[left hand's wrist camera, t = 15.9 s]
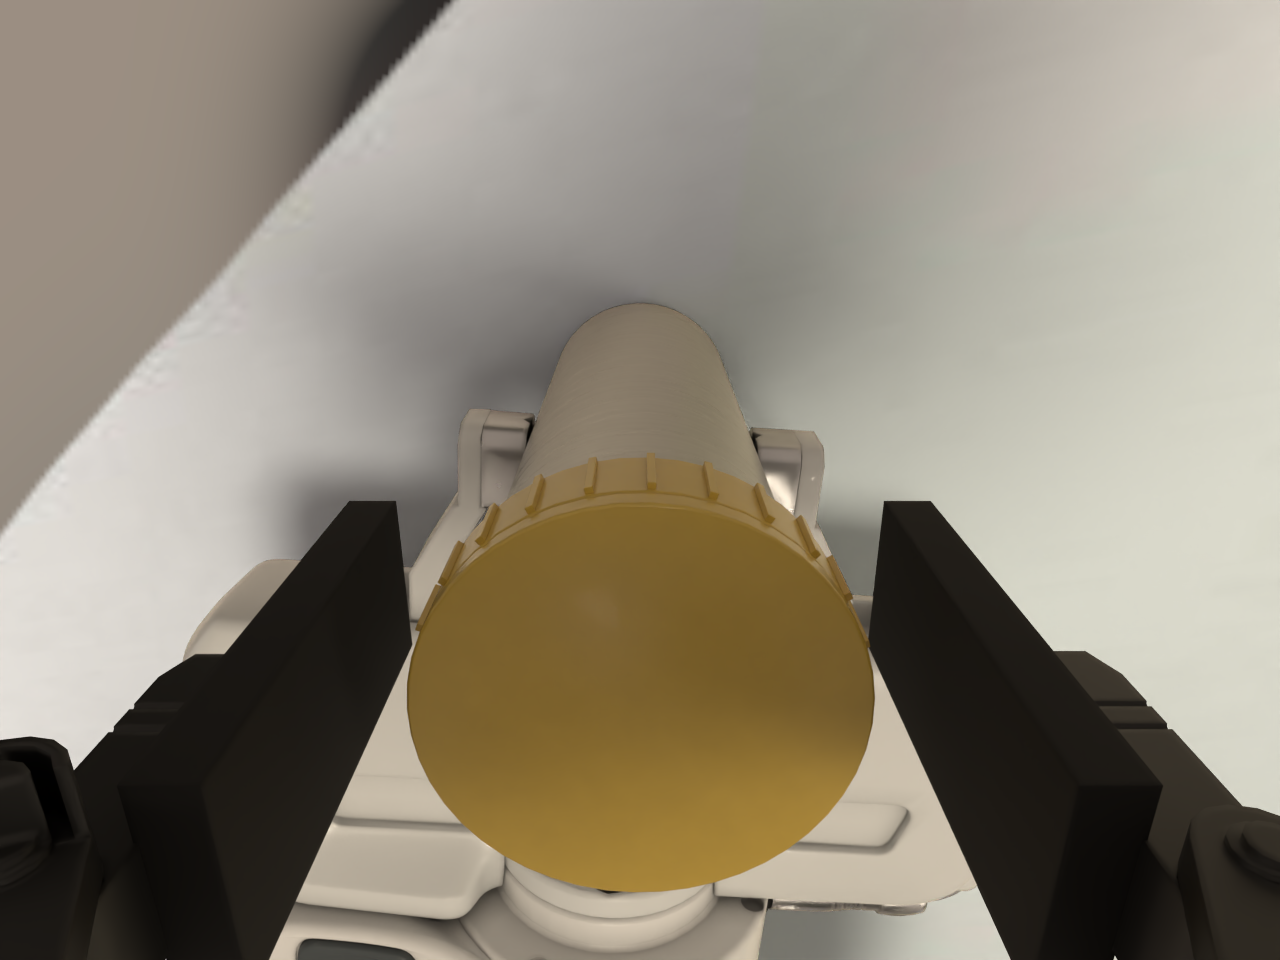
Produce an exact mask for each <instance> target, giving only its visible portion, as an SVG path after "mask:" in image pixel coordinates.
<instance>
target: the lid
mask: <svg viewBox="0 0 1280 960" xmlns="http://www.w3.org/2000/svg"><path fill="white" fill-rule="evenodd" d="M438 583H439V584H440V585H441V586H440V585H437V584H435V586H434V588H433V591H432V593H431V595H430V597H429V599H428V601H427V603H426V606H425V608H424V610H423V612H422V614H421V616H420V618H419V621H418V623H417V625H416V629H415V630H416V631H419V635H418V638H417V641H416V644H415V647H414V650H413V653H412V656H411V661H410V667H409V673H408V680H407V714H408V720H409V726H410V733H411V737H412V740H413V743H414V746H415V750H416V753H417V756H418V759H419V761H420V763H421V765H422V767H423V770H424V772H425V774H426V776H427V778H428V780H429V782H430V783H431V785H432V786H433V788H434V789H435V791H436V792H437V794H438V795H439V797H440V798H441V800H442V801H443V803H444V804H445V805H446V806H447V807H448V809H449V810H450V811H451V812H452V813H453V814H454V815H455V816H456V818H457V819H458V820H459V821H460V822H461V823H462V824H463V825H464V826H465V827H466V828H468V829H469V830H470V831H471V832H472V833H473V834H474V835H476V836H477V837H478V838H479V839H480V840H481V841H483V842H484V843H486V844H487V845H489V846H490V847H492V848H493V849H494V850H496V851H497V852H499V853H500V854H502V855H503V856H505V857H507V858H509V859H511V860H513V861H515V862H516V863H518V864H520V865H522V866H524V867H526V868H528V869H531V870H533V871H536V872H538V873H541V874H543V875H546V876H548V877H551V878H554V879H557V880H561V881H564V882H568V883H571V884H575V885H578V886H584V887H590V888H595V889H601V890H608V891H621V892H663V891H671V890H680V889H688V888H692V887H697V886H701V885H706V884H710V883H715V882H718V881H721V880H724V879H727V878H730V877H733V876H736V875H739V874H741V873H744V872H746V871H748V870H750V869H752V868H755V867H757V866H759V865H761V864H763V863H765V862H767V861H769V860H771V859H772V858H774V857H776V856H777V855H779V854H781V853H782V852H784V851H786V850H787V849H789V848H790V847H791V846H793V845H794V844H795V843H797V842H798V841H799V840H801V839H802V838H803V837H805V836H806V835H807V834H809V833H810V832H811V831H812V830H813V829H814V828H815V827H816V826H817V825H818V824H819V823H820V822H821V821H822V820H823V819H824V818H825V817H826V816H827V815H828V814H829V813H830V811H831V810H832V809H833V808H834V806H835V805H836V804H837V803H838V801H839V800H840V799H841V798H842V796H843V795H844V793H845V792H846V790H847V788H848V787H849V785H850V783H851V782H852V780H853V778H854V777H855V775H856V773H857V771H858V768H859V766H860V764H861V761H862V759H863V756H864V754H865V752H866V749H867V745H868V741H869V737H870V733H871V729H872V725H873V716H874V705H875V690H874V675H873V669H872V665H871V660H870V656H869V652H868V648H869V647H870V643H869V639H868V637H867V635H866V633H865V631H864V629H863V626H862V624H861V622H860V620H859V618H858V616H857V614H856V611H855V609H854V607H853V605H852V603H851V601H850V600H852V599H853V596H852V594H851V592H850V590H849V588H848V586H847V584H846V582H845V579H844V577H843V575H842V573H841V571H840V569H839V567H838V565H837V562H836V560H835V559H834V557H833V555H831V556H829V557H826V555H825V554H824V552H823V550H822V549H821V547H820V545H819V544H818V542H817V541H816V540H815V539H814V537H813V535H812V532H811V530H810V528H809V526H808V523H807V521H806V519H805V518H804V517H803V516H802V515H800V516H799V517H797V518H796V517H795V516H793V515H792V514H791V513H790V512H789V511H788V510H787V509H786V508H785V507H784V506H783V505H781V504H780V503H778V502H777V501H776V500H774V499H773V498H771V497H770V496H768V495H767V493H766V491H765V488H764V486H763V485H761V484H760V483H756V485H755V486H752V485H750V484H748V483H746V482H744V481H742V480H740V479H738V478H737V477H735V476H732V475H729V474H726V473H724V472H721V471H718V470H715V469H713V465H712V463H710V462H707V461H704V464H703V466H702V465H698V464H693V463H689V462H684V461H680V460H671V459H661V458H655V453H647V456H646V457H644V458H617V459H610V460H604V461H597V457H591V458H588V463H587V464H583V465H580V466H576V467H573V468H569V469H566V470H562V471H560V472H557V473H555V474H553V475H550V476H548V477H546V478H544V477H543V476H542V474H539V475H537V476H535V477H534V480H533V483H532V484H531V485H529V486H528V487H526V488H524V489H522V490H521V491H519V492H517V493H516V494H514V495H512V496H511V497H510V498H508V499H507V500H506V501H504V502H503V503H502V504H501V505H499V506H497V505H496V504H495V503H493V504H492V505H490V506H489V508H488V510H487V512H486V515H485V517H484V520H483V521H482V522H481V523H480V524H479V525H478V526H477V527H476V528H475V529H474V530H473V531H472V532H471V534H470V535H469V536H468V538H467V539H466V541H465V542H464V543H462V542H461V541H459V540H458V541H457V543H456V544H455V546H454V548H453V550H452V552H451V554H450V556H449V559H448V561H447V563H446V565H445V567H444V569H443V572H442V574H441V576H440V578H439V580H438Z"/></svg>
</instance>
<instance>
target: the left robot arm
mask: <svg viewBox="0 0 1280 960" xmlns="http://www.w3.org/2000/svg"><path fill="white" fill-rule="evenodd" d="M868 639H869V643H870V647H869V649H870V652H871V654H872V656H873V658H874V660H875V663H876V665H877V667H878V669H879V671H880V674H881V676H882V678H883V680H884V682H885V685H886V687H887V689H888V691H889V693H890V696H891V698H892V700H893V702H894V704H895V706H896V709H897V711H898V713H899V715H900V717H901V720H902V722H903V724H904V726H905V728H906V731H907V733H908V735H909V737H910V739H911V742H912V744H913V746H914V748H915V750H916V753H917V755H918V757H919V759H920V761H921V764H922V766H923V768H924V770H925V772H926V775H927V777H928V779H929V781H930V783H931V785H932V788H933V790H934V792H935V794H936V796H937V799H938V801H939V803H940V805H941V807H942V810H943V812H944V814H945V816H946V818H947V821H948V823H949V825H950V827H951V829H952V832H953V834H954V836H955V838H956V840H957V843H958V845H959V847H960V849H961V851H962V854H963V856H964V858H965V860H966V862H967V864H968V867H969V869H970V871H971V873H972V875H973V878H974V880H975V882H976V884H977V886H978V889H979V891H980V893H981V895H982V897H983V900H984V902H985V904H986V906H987V908H988V911H989V913H990V915H991V917H992V919H993V922H994V924H995V926H996V928H997V930H998V933H999V935H1000V937H1001V939H1002V941H1003V943H1004V946H1005V948H1006V950H1007V952H1008V954H1009V957H1010V959H1011V960H1113V959H1114V956H1116V958H1117V960H1280V816H1278V815H1275V814H1272V813H1269V812H1266V811H1264V810H1261V809H1258V808H1251V807H1244V806H1242V805H1241V804H1240V803H1239V802H1238V801H1237V800H1236V799H1235V798H1234V796H1233V795H1232V794H1231V793H1230V792H1229V791H1228V790H1227V789H1226V788H1225V787H1224V785H1223V784H1222V783H1221V782H1220V781H1219V780H1218V779H1217V778H1216V777H1215V776H1214V774H1213V773H1212V772H1211V771H1210V770H1209V769H1208V768H1207V767H1206V766H1205V765H1204V764H1203V762H1202V761H1201V760H1200V759H1199V758H1198V757H1197V756H1196V755H1195V754H1194V753H1193V751H1192V750H1191V749H1190V748H1189V747H1188V746H1187V745H1186V744H1185V743H1184V742H1183V741H1182V739H1181V738H1180V737H1179V736H1178V735H1177V734H1176V733H1175V732H1174V731H1173V730H1172V729H1168V728H1167V723H1166V722H1165V721H1164V720H1163V719H1162V717H1161V716H1160V715H1159V714H1158V713H1157V712H1156V711H1155V710H1154V709H1153V708H1152V707H1151V706H1147V704H1146V700H1145V699H1144V698H1143V697H1142V696H1141V694H1140V693H1139V692H1138V691H1137V690H1136V689H1135V688H1134V687H1133V686H1132V685H1131V684H1130V682H1129V681H1128V680H1127V679H1126V678H1125V677H1124V676H1123V675H1122V674H1121V673H1119V672H1118V671H1116V670H1115V669H1113V668H1111V667H1110V666H1108V665H1107V664H1105V663H1103V662H1102V661H1100V660H1099V659H1097V658H1095V657H1094V656H1092V655H1091V654H1089V653H1087V652H1086V651H1053V650H1052V649H1051V648H1050V646H1049V645H1048V644H1047V643H1046V641H1045V640H1044V639H1043V638H1042V637H1041V635H1040V634H1039V633H1038V632H1037V630H1036V629H1035V628H1034V627H1033V626H1032V624H1031V623H1030V622H1029V621H1028V619H1027V618H1026V617H1025V616H1024V615H1023V613H1022V612H1021V611H1020V610H1019V608H1018V607H1017V606H1016V605H1015V604H1014V602H1013V601H1012V600H1011V599H1010V597H1009V596H1008V595H1007V594H1006V593H1005V591H1004V590H1003V589H1002V588H1001V586H1000V585H999V584H998V583H997V582H996V580H995V579H994V578H993V577H992V575H991V574H990V573H989V572H988V571H987V569H986V568H985V567H984V566H983V564H982V563H981V562H980V561H979V560H978V558H977V557H976V556H975V555H974V553H973V552H972V551H971V550H970V549H969V547H968V546H967V545H966V544H965V542H964V541H963V540H962V539H961V538H960V536H959V535H958V534H957V533H956V531H955V530H954V529H953V528H952V527H951V525H950V524H949V523H948V522H947V520H946V519H945V518H944V517H943V516H942V514H941V513H940V512H939V511H938V509H937V508H936V507H935V506H934V505H933V503H932V502H931V501H884V506H883V515H882V524H881V532H880V541H879V550H878V558H877V567H876V575H875V584H874V593H873V601H872V610H871V619H870V627H869V636H868ZM411 647H412V636H411V627H410V619H409V610H408V601H407V593H406V584H405V575H404V567H403V558H402V550H401V541H400V532H399V524H398V515H397V506H396V501H349V502H348V503H347V505H346V506H345V507H344V508H343V509H342V511H341V512H340V513H339V514H338V516H337V517H336V518H335V519H334V520H333V522H332V523H331V524H330V525H329V527H328V528H327V529H326V530H325V531H324V533H323V534H322V535H321V536H320V538H319V539H318V540H317V541H316V542H315V544H314V545H313V546H312V547H311V549H310V550H309V551H308V552H307V553H306V555H305V556H304V557H303V558H302V560H301V561H300V562H299V563H298V564H297V566H296V567H295V568H294V569H293V571H292V572H291V573H290V574H289V575H288V577H287V578H286V579H285V580H284V582H283V583H282V584H281V585H280V586H279V588H278V589H277V590H276V591H275V593H274V594H273V595H272V596H271V597H270V599H269V600H268V601H267V602H266V604H265V605H264V606H263V607H262V608H261V610H260V611H259V612H258V613H257V615H256V616H255V617H254V618H253V619H252V621H251V622H250V623H249V624H248V626H247V627H246V628H245V629H244V630H243V632H242V633H241V634H240V635H239V637H238V638H237V639H236V640H235V641H234V643H233V644H232V645H231V646H230V648H229V649H228V650H227V651H226V652H225V654H194V655H193V656H191V657H190V658H188V659H186V660H185V661H183V662H182V663H180V664H179V665H177V666H175V667H174V668H172V669H171V670H169V671H167V672H166V673H164V674H163V675H161V676H159V677H158V678H157V679H156V680H155V682H154V683H153V684H152V685H151V686H150V687H149V688H148V689H147V690H146V692H145V693H144V694H143V695H142V696H141V697H140V698H139V699H138V700H137V701H136V703H135V704H134V709H129V710H128V711H127V713H126V714H125V715H124V716H123V717H122V718H121V719H120V720H119V721H118V722H117V724H116V725H115V726H114V731H113V732H108V733H107V735H106V736H105V737H104V738H103V739H102V740H101V741H100V742H99V743H98V745H97V746H96V747H95V748H94V749H93V750H92V751H91V752H90V753H89V754H88V756H87V757H86V758H85V759H84V760H83V761H82V762H81V763H80V764H79V765H78V767H77V768H76V769H75V770H73V766H72V763H71V760H70V757H69V753H68V750H67V749H66V748H65V747H63V746H62V745H60V744H59V743H58V742H56V741H55V740H52V739H45V738H38V737H22V738H14V739H5V740H0V960H165V959H167V960H269V959H270V957H271V954H272V952H273V950H274V948H275V946H276V943H277V941H278V939H279V937H280V935H281V933H282V930H283V928H284V926H285V924H286V922H287V919H288V917H289V915H290V913H291V911H292V908H293V906H294V904H295V902H296V900H297V897H298V895H299V893H300V891H301V889H302V886H303V884H304V882H305V880H306V878H307V875H308V873H309V871H310V869H311V867H312V864H313V862H314V860H315V858H316V856H317V854H318V851H319V849H320V847H321V845H322V843H323V840H324V838H325V836H326V834H327V832H328V829H329V827H330V825H331V823H332V821H333V818H334V816H335V814H336V812H337V810H338V807H339V805H340V803H341V801H342V799H343V796H344V794H345V792H346V790H347V788H348V785H349V783H350V781H351V779H352V777H353V775H354V772H355V770H356V768H357V766H358V764H359V761H360V759H361V757H362V755H363V753H364V750H365V748H366V746H367V744H368V742H369V739H370V737H371V735H372V733H373V731H374V728H375V726H376V724H377V722H378V720H379V717H380V715H381V713H382V711H383V709H384V706H385V704H386V702H387V700H388V698H389V696H390V693H391V691H392V689H393V687H394V685H395V682H396V680H397V678H398V676H399V674H400V671H401V669H402V667H403V665H404V663H405V660H406V658H407V656H408V654H409V652H410V649H411Z"/></svg>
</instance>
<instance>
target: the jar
mask: <svg viewBox="0 0 1280 960" xmlns="http://www.w3.org/2000/svg"><path fill="white" fill-rule="evenodd" d="M647 453H655V458H661V459H671V460H680V461H684V462H689V463H693V464H698V465H702V466H703V464H704V461H707V462H710V463H712V465H713V469H715V470H718V471H721V472H724V473H726V474H729V475H732V476H735V477H737V478H738V479H740V480H742V481H744V482H746V483H748V484H750V485H752V486H755V485H756V483H760V484H761V485H763V486H764V488H765V491H766V493H767V495H768V496H770V497H771V498H773V499H774V497H773V494H772V491H771V489H770V486H769V484H768V481H767V478H766V476H765V473H764V470H763V468H762V465H761V463H760V460H759V457H758V455H757V452H756V450H755V447H754V444H753V442H752V439H751V436H750V434H749V431H748V429H747V426H746V423H745V421H744V418H743V415H742V413H741V410H740V408H739V405H738V402H737V400H736V397H735V394H734V392H733V389H732V387H731V384H730V381H729V379H728V376H727V373H726V371H725V368H724V366H723V363H722V360H721V358H720V355H719V353H718V351H717V349H716V347H715V345H714V344H713V342H712V340H711V339H710V338H709V336H708V335H707V334H706V333H705V332H704V331H703V330H702V328H701V327H700V326H699V325H697V324H696V323H695V322H694V321H692V320H691V319H690V318H688V317H687V316H685V315H683V314H681V313H680V312H677V311H675V310H673V309H670V308H667V307H664V306H660V305H655V304H647V303H633V304H626V305H620V306H617V307H613V308H610V309H608V310H605V311H603V312H601V313H599V314H597V315H596V316H594V317H592V318H590V319H589V320H588V321H587V322H585V323H584V324H583V325H582V326H581V327H580V328H579V329H578V330H577V331H576V332H575V333H574V334H573V335H572V337H571V338H570V339H569V341H568V342H567V344H566V346H565V348H564V349H563V351H562V353H561V356H560V359H559V361H558V364H557V367H556V369H555V372H554V375H553V377H552V380H551V382H550V385H549V388H548V390H547V393H546V396H545V398H544V401H543V404H542V406H541V409H540V412H539V414H538V417H537V420H536V422H535V425H534V428H533V430H532V433H531V436H530V438H529V441H528V443H527V446H526V449H525V451H524V454H523V457H522V459H521V462H520V465H519V467H518V470H517V473H516V475H515V478H514V481H513V483H512V486H511V489H510V491H509V494H508V497H507V499H508V498H510V497H511V496H512V495H514V494H516V493H517V492H519V491H521V490H522V489H524V488H526V487H528V486H529V485H531V484H532V483H533V480H534V477H535V476H537V475H539V474H542V476H543V477H544V478H546V477H548V476H550V475H553V474H555V473H557V472H560V471H562V470H566V469H569V468H573V467H576V466H580V465H583V464H587V463H588V458H591V457H597V461H604V460H610V459H617V458H644V457H646V456H647ZM507 499H506V500H507ZM774 500H775V499H774Z"/></svg>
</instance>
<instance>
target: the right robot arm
mask: <svg viewBox="0 0 1280 960" xmlns="http://www.w3.org/2000/svg"><path fill="white" fill-rule="evenodd" d="M534 425H535V416H534V414H532V413H519V412H507V411H495V410H491V409H469V411H468V412H467V414H466V416H465V417H464V419H463V420H462V422H461V425H460V431H459V437H458V492H457V493H456V495H455V496H454V498H453V499H452V501H451V503H450V504H449V506H448V507H447V509H446V510H445V512H444V514H443V515H442V517H441V518H440V520H439V521H438V523H437V525H436V526H435V528H434V529H433V531H432V532H431V534H430V536H429V538H428V539H427V541H426V543H425V545H424V547H423V549H422V550H421V552H420V554H419V556H418V558H417V560H416V562H415V563H414V565H413V567H404V575H405V584H406V593H407V601H408V610H409V619H410V627H411V636H412V647H411V649H410V652H409V654H408V656H407V658H406V660H405V663H404V665H403V667H402V669H401V671H400V674H399V676H398V678H397V680H396V682H395V685H394V687H393V689H392V691H391V693H390V696H389V698H388V700H387V702H386V704H385V706H384V709H383V711H382V713H381V715H380V717H379V720H378V722H377V724H376V726H375V728H374V731H373V733H372V735H371V737H370V739H369V742H368V744H367V746H366V748H365V750H364V753H363V755H362V757H361V759H360V761H359V764H358V766H357V768H356V770H355V772H354V775H353V777H352V779H351V781H350V783H349V785H348V788H347V790H346V792H345V794H344V796H343V799H342V801H341V803H340V805H339V807H338V810H337V812H336V814H335V816H334V818H333V821H332V823H331V825H330V827H329V829H328V832H327V834H326V836H325V838H324V840H323V843H322V845H321V847H320V849H319V851H318V854H317V856H316V858H315V860H314V862H313V864H312V867H311V869H310V871H309V873H308V875H307V878H306V880H305V882H304V884H303V886H302V889H301V891H300V893H299V895H298V897H297V900H296V902H295V904H294V906H293V908H292V911H291V913H290V915H289V917H288V919H287V922H286V924H285V926H284V928H283V930H282V933H281V935H280V937H279V939H278V941H277V943H276V946H275V948H274V950H273V952H272V954H271V957H270V959H269V960H758V956H759V949H760V944H761V938H762V932H763V926H764V921H765V915H766V912H767V910H768V909H777V910H794V911H814V912H826V911H832V910H833V911H841V910H851V909H852V910H861V909H862V910H871V911H876V913H878V914H883V915H890V916H906V915H915V914H919V913H923V912H924V911H925V909H926V907H927V903H928V902H931V901H936V900H941V899H944V898H948V897H950V896H952V895H955V894H957V893H959V892H960V891H968V890H972V889H974V888H975V887H976V886H977V884H976V882H975V880H974V878H973V875H972V873H971V871H970V869H969V867H968V864H967V862H966V860H965V858H964V856H963V854H962V851H961V849H960V847H959V845H958V843H957V840H956V838H955V836H954V834H953V832H952V829H951V827H950V825H949V823H948V821H947V818H946V816H945V814H944V812H943V810H942V807H941V805H940V803H939V801H938V799H937V796H936V794H935V792H934V790H933V788H932V785H931V783H930V781H929V779H928V777H927V775H926V772H925V770H924V768H923V766H922V764H921V761H920V759H919V757H918V755H917V753H916V750H915V748H914V746H913V744H912V742H911V739H910V737H909V735H908V733H907V731H906V728H905V726H904V724H903V722H902V720H901V717H900V715H899V713H898V711H897V709H896V706H895V704H894V702H893V700H892V698H891V696H890V693H889V691H888V689H887V687H886V685H885V682H884V680H883V678H882V676H881V674H880V671H879V669H878V667H877V665H876V663H875V660H874V658H873V656H872V654H871V652H870V649H869V648H868V652H869V656H870V660H871V665H872V669H873V675H874V690H875V705H874V716H873V725H872V729H871V733H870V737H869V741H868V745H867V749H866V752H865V754H864V756H863V759H862V761H861V764H860V766H859V768H858V771H857V773H856V775H855V777H854V778H853V780H852V782H851V783H850V785H849V787H848V788H847V790H846V792H845V793H844V795H843V796H842V798H841V799H840V800H839V801H838V803H837V804H836V805H835V806H834V808H833V809H832V810H831V811H830V813H829V814H828V815H827V816H826V817H825V818H824V819H823V820H822V821H821V822H820V823H819V824H818V825H817V826H816V827H815V828H814V829H813V830H812V831H811V832H810V833H809V834H807V835H806V836H805V837H803V838H802V839H801V840H799V841H798V842H797V843H795V844H794V845H793V846H791V847H790V848H789V849H787V850H786V851H784V852H782V853H781V854H779V855H777V856H776V857H774V858H772V859H771V860H769V861H767V862H765V863H763V864H761V865H759V866H757V867H755V868H752V869H750V870H748V871H746V872H744V873H741V874H739V875H736V876H733V877H730V878H727V879H724V880H721V881H718V882H715V883H710V884H706V885H701V886H697V887H692V888H688V889H680V890H671V891H663V892H621V891H608V890H601V889H595V888H590V887H584V886H578V885H575V884H571V883H568V882H564V881H561V880H557V879H554V878H551V877H548V876H546V875H543V874H541V873H538V872H536V871H533V870H531V869H528V868H526V867H524V866H522V865H520V864H518V863H516V862H515V861H513V860H511V859H509V858H507V857H505V856H503V855H502V854H500V853H499V852H497V851H496V850H494V849H493V848H492V847H490V846H489V845H487V844H486V843H484V842H483V841H481V840H480V839H479V838H478V837H477V836H476V835H474V834H473V833H472V832H471V831H470V830H469V829H468V828H466V827H465V826H464V825H463V824H462V823H461V822H460V821H459V820H458V819H457V818H456V816H455V815H454V814H453V813H452V812H451V811H450V810H449V809H448V807H447V806H446V805H445V804H444V803H443V801H442V800H441V798H440V797H439V795H438V794H437V792H436V791H435V789H434V788H433V786H432V785H431V783H430V782H429V780H428V778H427V776H426V774H425V772H424V770H423V767H422V765H421V763H420V761H419V759H418V756H417V753H416V750H415V746H414V743H413V740H412V737H411V733H410V726H409V720H408V714H407V680H408V673H409V667H410V661H411V656H412V653H413V650H414V647H415V644H416V641H417V638H418V635H419V631H416V630H415V629H416V625H417V623H418V621H419V618H420V616H421V614H422V612H423V610H424V608H425V606H426V603H427V601H428V599H429V597H430V595H431V593H432V591H433V588H434V586H435V584H437V585H440V584H439V583H438V580H439V578H440V576H441V574H442V572H443V569H444V567H445V565H446V563H447V561H448V559H449V556H450V554H451V552H452V550H453V548H454V546H455V544H456V543H457V541H458V540H459V541H461V542H462V543H464V542H465V541H466V539H467V538H468V536H469V535H470V534H471V532H472V531H473V530H474V528H475V527H476V525H477V524H478V522H479V520H480V519H481V517H482V516H483V514H484V513H485V511H486V510H487V508H488V507H489V506H490V505H492V504H493V503H495V504H496V505H497V506H499V505H501V504H502V503H503V502H504V501H506V499H507V497H508V494H509V491H510V489H511V486H512V483H513V481H514V478H515V475H516V473H517V470H518V467H519V465H520V462H521V459H522V457H523V454H524V451H525V449H526V446H527V443H528V441H529V438H530V436H531V433H532V430H533V428H534ZM749 434H750V436H751V439H752V442H753V444H754V447H755V450H756V452H757V455H758V457H759V460H760V463H761V465H762V468H763V470H764V473H765V476H766V478H767V481H768V484H769V486H770V489H771V491H772V494H773V497H774V499H775V500H776V501H777V502H778V503H780V504H781V505H783V506H784V507H785V508H786V509H787V510H788V511H789V512H790V513H791V514H792V515H793V516H795V517H796V518H797V517H799V516H800V515H802V516H803V517H804V518H805V519H806V521H807V523H808V526H809V528H810V530H811V532H812V535H813V537H814V539H815V540H816V541H817V542H818V544H819V545H820V547H821V549H822V550H823V552H824V554H825V555H826V557H829V556H831V555H832V554H831V552H830V549H829V547H828V545H827V543H826V540H825V538H824V536H823V534H822V531H821V529H820V527H819V525H818V523H817V521H816V517H817V511H818V505H819V498H820V492H821V486H822V479H823V473H824V449H823V445H822V444H821V442H820V441H819V439H818V437H817V436H816V434H815V432H814V431H799V430H785V429H767V428H751V429H750V431H749ZM299 562H300V560H288V559H272V560H267V561H264V562H262V563H260V564H258V565H257V566H256V567H254V568H253V569H252V570H251V571H250V572H249V573H248V574H246V575H245V576H244V577H243V578H242V579H241V580H240V581H239V582H238V583H237V584H236V585H235V586H234V587H233V588H231V589H230V590H229V591H228V592H227V593H226V594H225V595H224V596H223V597H222V598H221V599H220V600H219V601H218V602H217V604H216V605H215V606H214V607H213V608H212V610H211V611H210V612H209V613H208V615H207V616H206V617H205V618H204V620H203V621H202V622H201V623H200V625H199V626H198V628H197V629H196V631H195V632H194V634H193V635H192V637H191V639H190V641H189V643H188V645H187V648H186V650H185V653H184V657H183V661H185V660H186V659H188V658H190V657H191V656H193V655H194V654H225V652H226V651H227V650H228V649H229V648H230V646H231V645H232V644H233V643H234V641H235V640H236V639H237V638H238V637H239V635H240V634H241V633H242V632H243V630H244V629H245V628H246V627H247V626H248V624H249V623H250V622H251V621H252V619H253V618H254V617H255V616H256V615H257V613H258V612H259V611H260V610H261V608H262V607H263V606H264V605H265V604H266V602H267V601H268V600H269V599H270V597H271V596H272V595H273V594H274V593H275V591H276V590H277V589H278V588H279V586H280V585H281V584H282V583H283V582H284V580H285V579H286V578H287V577H288V575H289V574H290V573H291V572H292V571H293V569H294V568H295V567H296V566H297V564H298V563H299ZM440 586H441V585H440ZM852 596H853V599H852V600H850V601H851V603H852V605H853V607H854V609H855V611H856V614H857V616H858V618H859V620H860V622H861V624H862V626H863V629H864V631H865V633H866V635H867V637H868V636H869V627H870V619H871V610H872V601H873V596H863V595H852Z"/></svg>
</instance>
